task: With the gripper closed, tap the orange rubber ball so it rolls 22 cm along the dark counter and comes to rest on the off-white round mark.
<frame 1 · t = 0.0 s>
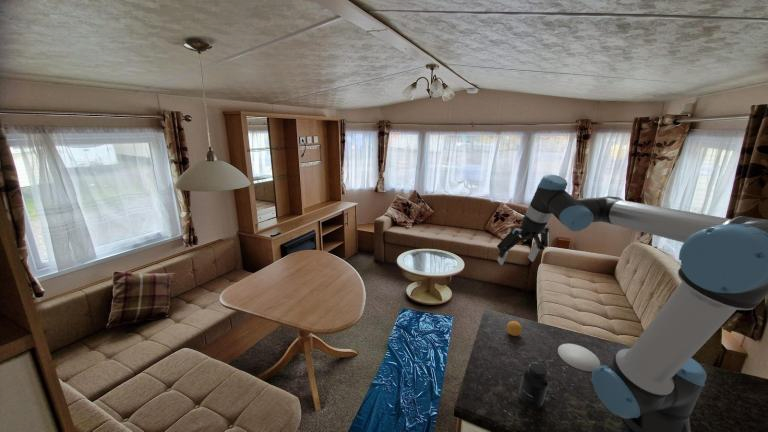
hand: (515, 260, 120), 28 cm above the countertop, tool tilted 20°, fingers open, 13 cm apart
supplement bottle: (530, 400, 94), on the countertop
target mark: (578, 357, 111), on the countertop
ball: (514, 328, 121), on the countertop
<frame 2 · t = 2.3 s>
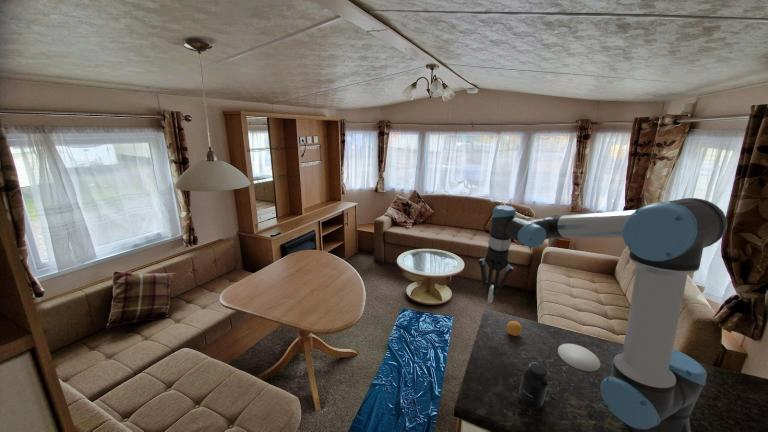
hand: (490, 301, 123), 11 cm above the countertop, tool pointing down, fingers closed
nothing on the countertop moved.
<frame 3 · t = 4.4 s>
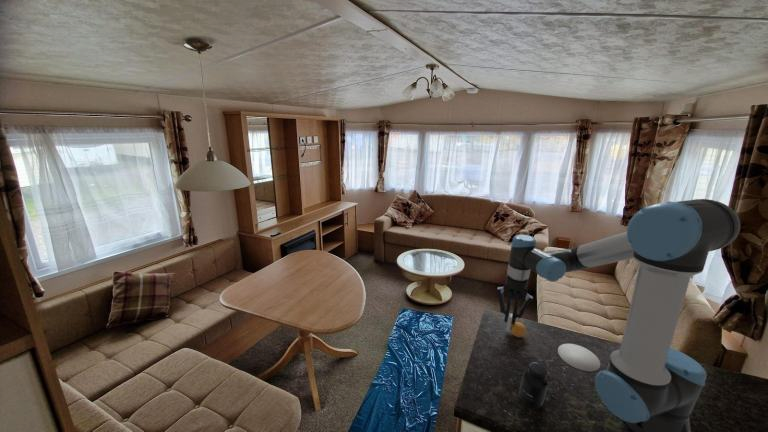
hand: (508, 329, 122), 2 cm above the countertop, tool pointing down, fingers closed
ball: (518, 329, 120), on the countertop, touching gripper
everything else where it was.
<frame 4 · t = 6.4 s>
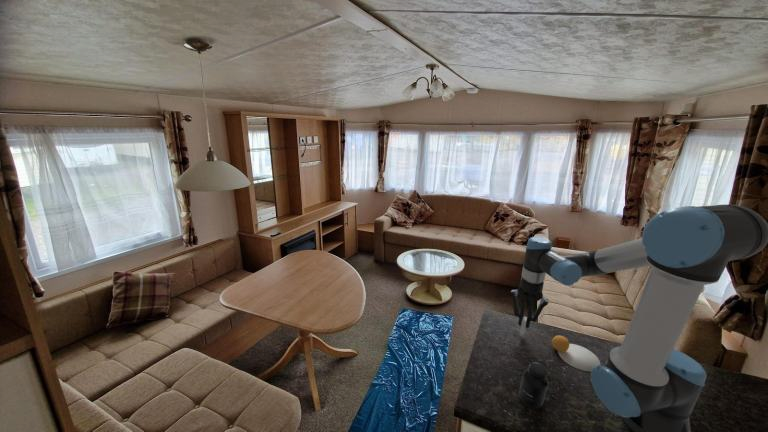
hand: (522, 332, 119), 2 cm above the countertop, tool pointing down, fingers closed
ball: (560, 343, 113), on the countertop
everything else where it was.
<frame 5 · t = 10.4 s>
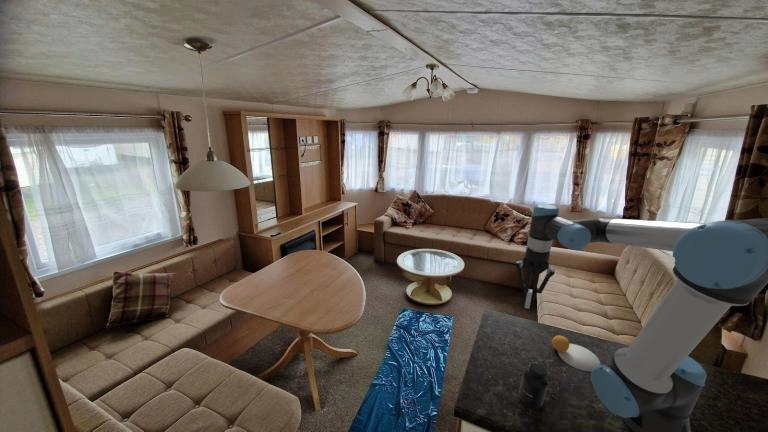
hand: (527, 306, 116), 14 cm above the countertop, tool pointing down, fingers closed
nothing on the countertop moved.
at the end: ball 6.2 cm from the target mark (horizontally); ball at rest at the end (0.0 cm/s); ball moved 15.9 cm from its start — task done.
